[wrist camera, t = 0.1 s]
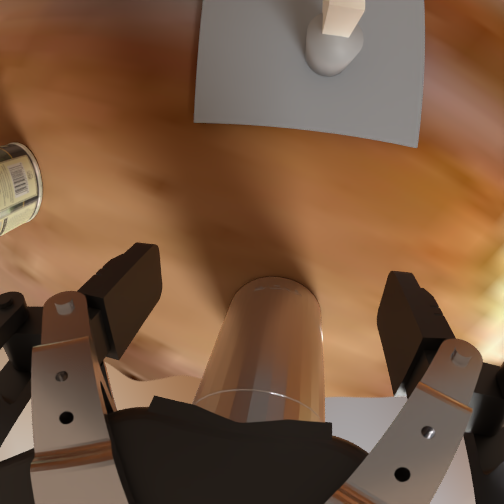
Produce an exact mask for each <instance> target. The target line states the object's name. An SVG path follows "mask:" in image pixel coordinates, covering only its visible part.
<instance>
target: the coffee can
mask: <svg viewBox="0 0 504 504" xmlns="http://www.w3.org/2000/svg"><path fill="white" fill-rule="evenodd" d="M42 192H43V191H42V179H41V173H40V169H39V166H38V164H37V161H36V159H35V157H34V156H33V154H32V153H31V151H30V150H29V149H28V148H27V147H26V146H24V145H23V144H20V143H15V142H13V143H10V144H7V145H4V146H0V236H2V235H3V234H5V233H7V232H9V231H11V230H12V229H14V228H16V227H18V226H20V225H22V224H24V223H26V222H29V221H30V220H32V219H33V218H34V217H35V215H36V214H37V213H38V210H39V208H40V205H41V201H42Z"/></svg>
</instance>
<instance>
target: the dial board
mask: <svg viewBox="0 0 504 504" xmlns="http://www.w3.org/2000/svg"><path fill="white" fill-rule="evenodd" d="M322 7H323V0H203V5H202V15H201V25H200V36H199V47H198V60H197V74H196V89H195V107H194V123H223V124H243V125H259V126H272V127H283V128H293V129H303V130H311V131H320V132H327V133H335V134H342V135H348V136H355V137H361V138H367V139H373V140H378V141H384V142H389V143H394V144H399V145H404V146H409V147H414V148H417V146H418V138H419V129H420V120H421V110H422V98H423V83H424V60H425V14H424V0H365V11H364V13H363V15H362V16H361V18H360V20H359V21H358V25H359V26H360V28H361V30H362V32H363V37H364V41H363V46H362V49H361V50H360V52H359V53H358V54H357V55H356V56H355V58H354V59H353V60H352V61H351V62H350V63H349V64H348V66H347V67H346V68H345V69H344V70H343V71H342V72H341V73H340V74H338V75H336V76H332V77H325V76H321V75H318V74H316V73H315V72H313V71H312V70H311V69H310V68H309V66H308V65H307V62H306V58H305V52H306V37H307V28H308V25H309V23H310V22H311V20H312V19H313V18H314V17H315V16H317V15H319V14H321V13H322Z"/></svg>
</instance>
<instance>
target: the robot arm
mask: <svg viewBox="0 0 504 504" xmlns="http://www.w3.org/2000/svg"><path fill="white" fill-rule="evenodd" d="M161 292H162V277H161V266H160V254H159V248H158V246H157V245H155V244H146V243H135V244H134V245H133V246H132V247H131V248H130V249H128V250H127V251H126V252H125V253H124V254H121V255H119V256H117V257H115V258H113V259H111V260H110V261H109V262H107V263H106V264H105V265H104V266H103V268H102V269H100V270H99V271H98V272H97V273H96V275H93V276H92V277H91V278H90V279H89V280H88V281H87V282H86V283H85V284H84V285H83V286H82V287H81V288H80V289H79V290H78V291H77V292H76V291H66V292H61V293H58V294H56V295H54V296H52V297H51V298H49V299H48V300H47V301H46V302H45V304H44V306H43V307H27V305H26V302H25V299H24V296H23V295H22V294H21V293H19V292H7V293H4V294H1V295H0V349H1V348H2V347H3V348H4V349H5V352H6V354H7V356H8V358H9V361H8V363H7V364H6V365H5V366H4V368H3V369H2V370H1V371H0V447H1V445H2V443H3V442H4V440H5V438H6V437H7V435H8V433H9V431H10V430H11V428H12V426H13V425H14V423H15V422H16V420H17V419H18V417H19V415H20V414H21V412H22V411H23V409H24V408H25V406H26V404H27V403H28V402H29V400H30V398H31V400H32V402H31V404H32V425H33V438H34V448H33V449H31V450H28V451H26V452H23V453H21V454H18V455H16V456H13V457H11V458H8V459H6V460H3V461H1V462H0V504H429V503H430V501H431V500H432V498H433V496H434V494H435V493H436V491H437V489H438V487H439V485H440V484H441V482H442V480H443V478H444V476H445V474H446V472H447V470H448V468H449V466H450V464H451V462H452V460H453V458H454V455H455V453H456V451H457V449H458V447H459V444H460V442H461V440H462V437H463V436H464V440H465V445H466V450H467V454H468V459H469V464H470V469H471V474H472V481H473V487H474V494H475V501H476V504H504V362H503V364H502V365H501V367H500V366H496V365H492V364H488V363H484V362H483V359H482V356H481V354H480V352H479V351H478V350H477V349H476V348H475V347H474V346H473V345H471V344H470V343H468V342H466V341H464V340H460V339H456V338H455V336H454V334H453V332H452V330H451V328H450V326H449V324H448V323H447V321H446V319H445V317H444V316H443V313H442V311H441V309H440V308H438V307H439V306H438V304H437V302H436V300H435V299H434V297H433V296H432V295H431V294H430V293H429V292H428V291H426V290H425V289H424V288H420V286H419V284H418V282H417V281H416V279H415V277H414V275H413V274H412V273H408V272H399V271H391V272H390V273H389V275H388V278H387V282H386V285H385V289H384V292H383V296H382V299H381V302H380V306H379V309H378V314H377V327H378V331H379V335H380V339H381V342H382V346H383V350H384V355H385V359H386V363H387V367H388V371H389V376H390V380H391V385H392V390H393V394H394V397H407V398H408V400H407V402H406V403H405V405H404V406H403V408H402V409H401V411H400V412H399V414H398V415H397V417H396V418H395V420H394V421H393V422H392V424H391V425H390V427H389V428H388V430H387V431H386V432H385V433H384V435H383V436H382V438H381V439H380V440H379V442H378V443H377V444H376V446H375V447H374V448H373V449H372V451H371V452H370V453H367V452H366V451H365V450H363V449H362V448H360V447H359V446H357V445H355V444H353V443H351V442H349V441H347V440H344V439H342V438H339V437H336V436H332V423H330V422H329V423H328V422H325V392H324V362H323V338H322V322H321V310H320V307H319V303H318V302H317V300H316V298H315V296H314V295H313V294H312V293H311V292H310V291H309V290H308V289H307V288H306V287H304V286H303V285H301V284H300V283H298V282H295V281H293V280H291V279H287V278H282V277H265V278H259V279H256V280H254V281H251V282H249V283H247V284H246V285H244V286H243V287H242V288H241V289H240V290H239V291H238V292H237V293H236V294H235V296H234V297H233V299H232V301H231V304H230V307H229V309H228V312H227V314H226V317H225V320H224V322H223V324H222V327H221V330H220V332H219V335H218V338H217V340H216V343H215V346H214V348H213V351H212V354H211V356H210V359H209V361H208V364H207V367H206V369H205V372H204V375H203V377H202V380H201V383H200V385H199V388H198V390H197V393H196V396H195V398H194V401H193V404H188V403H184V402H179V401H175V400H170V399H166V398H162V397H158V396H154V397H153V400H152V402H151V404H150V406H149V407H135V408H129V409H123V410H119V411H117V408H116V405H115V401H114V398H113V394H112V390H111V386H110V382H109V378H108V373H107V369H106V366H105V363H104V358H105V357H109V358H113V359H116V360H119V359H120V358H121V356H122V355H123V353H124V352H125V350H126V349H127V347H128V346H129V344H130V343H131V341H132V340H133V338H134V337H135V335H136V333H137V332H138V330H139V329H140V327H141V326H142V324H143V323H144V321H145V320H146V319H147V317H148V316H149V314H150V313H151V311H152V310H153V308H154V307H155V305H156V304H157V302H158V301H159V299H160V296H161Z"/></svg>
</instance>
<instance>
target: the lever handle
mask: <svg viewBox="0 0 504 504" xmlns="http://www.w3.org/2000/svg"><path fill="white" fill-rule="evenodd" d="M364 11H365V0H323V7H322V13H321V14H319V15H317V16H315V17H314V18H313V19H312V20H311V22H310V23H309V25H308V28H307V37H306V52H305V58H306V62H307V65H308V66H309V68H310V69H311V70H312V71H313V72H315V73H316V74H318V75H321V76H325V77H332V76H336V75H338V74H340V73H341V72H342V71H343V70H344V69H345V68H346V67H347V66H348V64H349V63H350V62H351V61H352V60H353V59H354V58H355V56H356V55H357V54H358V53H359V52H360V50H361V49H362V46H363V41H364V37H363V32H362V30H361V28H360V26H359V25H358V21H359V20H360V18H361V16H362V15H363V13H364Z"/></svg>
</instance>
